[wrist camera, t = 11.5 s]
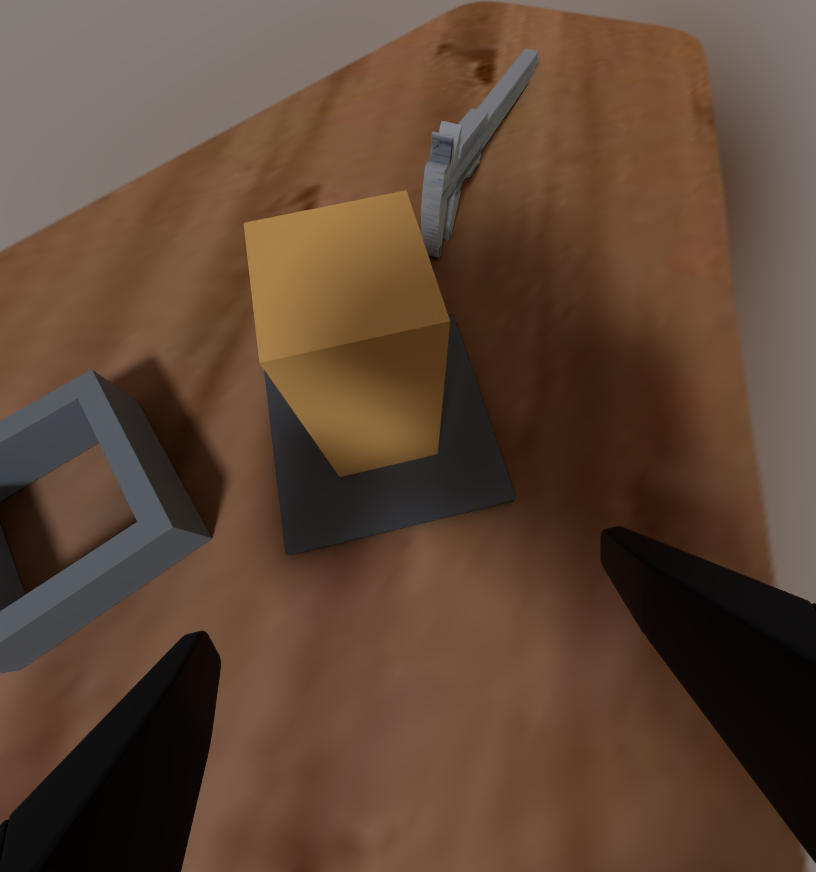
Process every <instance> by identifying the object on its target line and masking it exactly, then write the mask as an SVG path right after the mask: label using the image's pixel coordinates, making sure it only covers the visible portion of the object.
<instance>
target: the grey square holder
mask: <svg viewBox="0 0 816 872" xmlns="http://www.w3.org/2000/svg"><path fill="white" fill-rule="evenodd" d="M97 443H99V444H100V446H101V448H102V450H103V452H104V454H105V456H106V458H107V460H108V462H109V464H110V466H111V469H112V471H113V473H114V475H115V477H116V479H117V481H118V483H119V485H120V487H121V489H122V491H123V493H124V496H125V498H126V500H127V502H128V504H129V506H130V508H131V510H132V512H133V514H134V516H135V518H136V520H137V522H136V523H135V524H133V525H132V526H130V527H129V528H127V529H125V530H124V531H122V532H121V533H119V534H118V535H116V536H115V537H113V538H112V539H110V540H109V541H107V542H106V543H104V544H103V545H101V546H99V547H98V548H96V549H95V550H93V551H92V552H90V553H89V554H87V555H86V556H84V557H83V558H81V559H80V560H78V561H76V562H75V563H73V564H72V565H70V566H69V567H67V568H66V569H64V570H63V571H61V572H60V573H58V574H57V575H55V576H54V577H52V578H50V579H49V580H47V581H46V582H44V583H43V584H41V585H40V586H38V587H37V588H35V589H34V590H32V591H31V592H29V593H27V594H26V595H25V593H24V590H23V587H22V584H21V582H20V579H19V576H18V573H17V570H16V567H15V564H14V561H13V559H12V556H11V553H10V550H9V547H8V544H7V541H6V539H5V536H4V533H3V530H2V527H1V524H0V673H5V672H11V671H16V670H21V669H23V668H24V667H26V666H27V665H28V664H30V663H31V662H33V661H34V660H36V659H37V658H39V657H40V656H42V655H43V654H44V653H46V652H47V651H49V650H50V649H52V648H53V647H55V646H56V645H58V644H59V643H60V642H62V641H63V640H65V639H66V638H68V637H69V636H71V635H72V634H74V633H75V632H76V631H78V630H79V629H81V628H82V627H84V626H85V625H87V624H88V623H90V622H91V621H92V620H94V619H95V618H97V617H98V616H100V615H101V614H103V613H104V612H106V611H107V610H108V609H110V608H111V607H113V606H114V605H116V604H117V603H119V602H120V601H122V600H123V599H124V598H126V597H127V596H129V595H130V594H132V593H133V592H135V591H136V590H138V589H139V588H140V587H142V586H143V585H145V584H146V583H148V582H149V581H151V580H152V579H154V578H155V577H156V576H158V575H159V574H161V573H162V572H164V571H165V570H167V569H168V568H169V567H171V566H172V565H174V564H175V563H177V562H178V561H180V560H181V559H183V558H184V557H185V556H187V555H188V554H190V553H191V552H193V551H194V550H196V549H197V548H199V547H200V546H201V545H203V544H204V543H206V542H207V541H209V540H210V539H212V537H211V535H210V534H209V532H208V530H207V528H206V526H205V524H204V523H203V521H202V519H201V517H200V515H199V513H198V512H197V510H196V508H195V506H194V504H193V502H192V501H191V499H190V497H189V495H188V493H187V491H186V490H185V488H184V486H183V484H182V482H181V480H180V479H179V477H178V475H177V473H176V471H175V469H174V468H173V466H172V464H171V462H170V460H169V458H168V457H167V455H166V453H165V451H164V449H163V447H162V445H161V444H160V442H159V440H158V438H157V436H156V434H155V433H154V431H153V429H152V427H151V425H150V423H149V422H148V420H147V418H146V416H145V414H144V412H143V411H142V409H141V407H140V405H139V403H138V401H137V400H136V399H134V398H133V397H131V396H130V395H128V394H127V393H125V392H124V391H122V390H121V389H120V388H118V387H117V386H115V385H114V384H112V383H111V382H109V381H108V380H106V379H105V378H104V377H102V376H101V375H99V374H98V373H96V372H95V371H93V370H90V371H88V372H86V373H85V374H83V375H81V376H79V377H78V378H76V379H74V380H72V381H70V382H69V383H67V384H65V385H63V386H62V387H60V388H58V389H56V390H54V391H53V392H51V393H49V394H47V395H46V396H44V397H42V398H40V399H38V400H37V401H35V402H33V403H31V404H30V405H28V406H26V407H24V408H22V409H21V410H19V411H17V412H15V413H14V414H12V415H10V416H8V417H6V418H5V419H3V420H1V421H0V501H2V500H4V499H5V498H7V497H9V496H10V495H12V494H14V493H15V492H17V491H19V490H20V489H22V488H24V487H25V486H27V485H29V484H30V483H32V482H34V481H35V480H37V479H39V478H40V477H42V476H44V475H45V474H47V473H49V472H50V471H52V470H54V469H55V468H57V467H59V466H60V465H62V464H64V463H65V462H67V461H69V460H70V459H72V458H74V457H75V456H77V455H79V454H80V453H82V452H84V451H85V450H87V449H89V448H90V447H92V446H94V445H95V444H97Z"/></svg>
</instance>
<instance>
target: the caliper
mask: <svg viewBox="0 0 816 872" xmlns="http://www.w3.org/2000/svg"><path fill="white" fill-rule="evenodd" d="M538 53H539V51H535V50H530V49H525V50H524V51H523V52H522V53H521V54H520V56H519V57H518V58H517V59H516V61H515V62H514V63H513V64H512V66H511V67H510V68H509V69H508V71H507V72H506V73H505V74H504V76H503V77H502V78H501V79H500V81H499V82H498V83H497V84H496V86H495V87H494V88H493V89H492V91H491V92H490V93H489V94H488V96H487V97H486V98H485V99H484V101H483V102H482V103H481V104H480V106H479V107H478V108H477V110H476V109H472V108H471V109H470V111H469V112H468V113H467V114H466V115H465V116H464V118H463V119H462V120H461V121H460V122H459V124H454V123H449V122H445V121H442V122H441V125H440V130H439V133H436V132H432V139H431V151H430V160H429V161H428V163H427V164H426V166H425V173H424V183H423V194H422V205H421V235H422V238H423V241H424V244H425V247H426V250H427V253H428V255H430V256H433V257H437V258H439V257H440V256H441V248H442V240H443V239H444V240H448V241H449V239H450V237H451V235H452V230H453V226H454V221H455V217H456V212H457V207H458V203H459V198H460V193H461V189H462V184H463V182H464V181H465V179H466V180H467V179H469V178H471V177H472V175H473V172H474V171H475V169H477V168H478V167H479V164H480V159H481V154H482V149H483V148H484V147H485V145H486V144H487V142H488V141H489V139H490V138H491V136H492V135H493V133H494V132H495V131H496V129H497V128H498V126H499V125H500V123H501V122H502V120H503V119H504V118H505V116H506V115H507V113H508V112H509V110H510V109H511V107H512V106H513V105H514V103H515V102H516V100H517V99H518V98H519V96H520V95H521V93H522V92H523V90H524V89H525V88H526V86H527V85H528V83H529V81H530V79H531V77H532V75H533V73H534V70H535V67H536V66H537V65H538V63H539V61H540V56H539V55H538Z"/></svg>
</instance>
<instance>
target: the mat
mask: <svg viewBox="0 0 816 872" xmlns="http://www.w3.org/2000/svg"><path fill="white" fill-rule="evenodd" d="M448 316H449V319H450V328H449V339H448V349H447V360H446V371H445V382H444V392H443V403H442V414H441V424H440V435H439V446H438V454H436V455H432V456H427V457H423V458H419V459H415V460H410V461H406V462H402V463H398V464H393V465H389V466H385V467H381V468H376V469H372V470H368V471H364V472H359V473H355V474H351V475H347V476H342V477H339V475H338V474H337V473H336V471H335V470H334V468H333V467H332V465H331V464H330V463H329V461H328V460H327V458H326V457H325V455H324V454H323V453H322V451H321V450H320V448H319V447H318V445H317V444H316V443H315V441H314V440H313V438H312V437H311V435H310V434H309V433H308V431H307V430H306V428H305V427H304V425H303V424H302V423H301V421H300V420H299V418H298V417H297V415H296V414H295V413H294V411H293V410H292V408H291V407H290V405H289V404H288V403H287V401H286V400H285V398H284V397H283V396H282V394H281V393H280V391H279V390H278V388H277V387H276V386H275V384H274V383H273V381H272V380H271V378H270V377H269V376H268V374H267V373H266V371H265V370H264V373H265V381H266V390H267V398H268V407H269V416H270V424H271V433H272V441H273V450H274V458H275V467H276V475H277V484H278V492H279V501H280V510H281V518H282V527H283V535H284V544H285V552H286V555H289V556H290V555H294V554H298V553H302V552H306V551H310V550H315V549H319V548H323V547H327V546H331V545H335V544H339V543H343V542H347V541H352V540H356V539H360V538H364V537H368V536H372V535H376V534H380V533H384V532H389V531H393V530H397V529H401V528H405V527H409V526H413V525H417V524H421V523H426V522H430V521H434V520H438V519H442V518H446V517H450V516H454V515H458V514H463V513H467V512H471V511H475V510H479V509H483V508H487V507H491V506H495V505H499V504H504V503H508V502H512V501H514V500H515V499H516V497H515V494H514V491H513V488H512V485H511V482H510V479H509V476H508V473H507V470H506V467H505V464H504V461H503V458H502V456H501V453H500V450H499V447H498V444H497V441H496V438H495V435H494V432H493V429H492V426H491V423H490V420H489V417H488V414H487V411H486V408H485V405H484V403H483V400H482V397H481V394H480V391H479V388H478V385H477V382H476V379H475V376H474V373H473V370H472V367H471V364H470V361H469V358H468V355H467V352H466V349H465V347H464V344H463V341H462V338H461V335H460V332H459V329H458V326H457V323H456V320H455V317H454V314H451V315H448Z"/></svg>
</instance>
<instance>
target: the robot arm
mask: <svg viewBox="0 0 816 872" xmlns="http://www.w3.org/2000/svg"><path fill="white" fill-rule="evenodd" d="M601 563H602V565H603V568H604V570H605V571H606V573H607V575H608V576H609V578H610V580H611V581H612V583H613V585H614V586H615V588H616V590H617V591H618V593H619V595H620V596H621V598H622V599H623V601H624V603H625V604H626V606H627V608H628V609H629V611H630V613H631V614H632V616H633V618H634V619H635V621H636V622H637V624H638V626H639V627H640V629H641V630H642V632H643V633H644V634H645V636H646V637H647V639H648V640H649V641H650V643H651V644H652V645H653V647H654V648H655V649H656V651H657V652H658V653H659V655H660V656H661V657H662V659H663V660H664V661H665V663H666V664H667V665H668V667H669V668H670V669H671V671H672V672H673V673H674V675H675V676H676V677H677V679H678V680H679V681H680V683H681V684H682V685H683V687H684V688H685V689H686V691H687V692H688V693H689V695H690V696H691V697H692V699H693V700H694V701H695V703H696V704H697V705H698V707H699V708H700V709H701V711H702V712H703V713H704V715H705V716H706V717H707V719H708V720H709V721H710V723H711V724H712V725H713V727H714V728H715V729H716V731H717V732H718V733H719V735H720V736H721V737H722V739H723V740H724V741H725V743H726V744H727V745H728V747H729V748H730V750H731V751H732V752H733V754H734V755H735V756H736V758H737V759H738V760H739V762H740V763H741V764H742V766H743V767H744V768H745V770H746V771H747V772H748V774H749V775H750V776H751V778H752V779H753V780H754V782H755V783H756V784H757V786H758V787H759V788H760V790H761V791H762V792H763V794H764V795H765V796H766V798H767V799H768V800H769V802H770V803H771V804H772V806H773V807H774V808H775V810H776V811H777V812H778V814H779V815H780V816H781V818H782V819H783V820H784V822H785V823H786V824H787V826H788V827H789V828H790V830H791V831H792V832H793V834H794V835H795V836H796V838H797V839H798V840H799V842H800V843H801V844H802V846H803V847H804V848H805V850H806V851H807V852H808V854H809V855H810V856H811V858H812V859H813V860H814V862H815V863H816V604H815V603H813V604H811V603H810V602H809V601H808V600H805V599H803V598H800V597H798V596H795V595H793V594H790V593H788V592H785V591H783V590H780V589H778V588H775V587H772V586H770V585H767V584H765V583H762V582H760V581H757V580H755V579H752V578H750V577H747V576H745V575H742V574H740V573H737V572H735V571H732V570H730V569H727V568H725V567H722V566H720V565H717V564H715V563H712V562H710V561H707V560H704V559H702V558H699V557H697V556H694V555H692V554H689V553H687V552H684V551H682V550H679V549H677V548H674V547H672V546H669V545H667V544H664V543H662V542H659V541H657V540H654V539H652V538H649V537H647V536H644V535H642V534H639V533H637V532H634V531H631V530H629V529H626V528H624V527H621V526H616V527H612V528H608V529H605V530H603V531H602V532H601ZM220 670H221V659H220V656H219V654H218V652H217V650H216V648H215V646H214V644H213V642H212V641H211V639H210V637H209V635H208V634H207V633H206V632H205V631H198V632H194V633H190V634H187V635H184V636H183V637H182V638H181V639H180V640H179V641H178V642H177V643H176V644H175V645H174V646H173V647H172V648H171V649H170V650H169V651H168V652H167V653H166V654H165V655H164V656H163V657H162V658H161V659H160V660H159V661H158V663H157V664H156V665H155V666H154V667H153V668H152V669H151V670H150V671H149V672H148V673H147V674H146V675H145V676H144V677H143V678H142V679H141V680H140V681H139V682H138V683H137V684H136V685H135V686H134V687H133V688H132V689H131V690H130V691H129V693H128V694H127V695H126V696H125V697H124V698H123V699H122V700H121V701H120V702H119V703H118V704H117V705H116V706H115V707H114V708H113V709H112V710H111V711H110V712H109V713H108V714H107V715H106V716H105V717H104V718H103V719H102V720H101V721H100V722H99V724H98V725H97V726H96V727H95V728H94V729H93V730H92V731H91V732H90V733H89V734H88V735H87V736H86V737H85V738H84V739H83V740H82V741H81V742H80V743H79V744H78V745H77V746H76V747H75V748H74V749H73V750H72V751H71V752H70V753H69V755H68V756H67V757H66V758H65V759H64V760H63V761H62V762H61V763H60V764H59V765H58V766H57V767H56V768H55V769H54V770H53V771H52V772H51V773H50V774H49V775H48V776H47V777H46V778H45V779H44V780H43V781H42V782H41V783H40V784H39V786H38V787H37V788H36V789H35V790H34V791H33V792H32V793H31V794H30V795H29V796H28V797H27V798H26V799H25V800H24V801H23V802H22V803H21V804H20V805H19V806H18V807H17V808H16V809H15V810H14V811H13V812H12V813H11V815H10V817H9V819H8V820H5V821H4V822H3V823H2V824H1V825H0V872H181V869H182V865H183V861H184V856H185V852H186V848H187V844H188V839H189V835H190V831H191V826H192V822H193V818H194V813H195V809H196V805H197V801H198V796H199V792H200V788H201V783H202V779H203V775H204V770H205V766H206V762H207V758H208V753H209V748H210V743H211V737H212V731H213V723H214V716H215V708H216V701H217V693H218V685H219V678H220Z"/></svg>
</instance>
